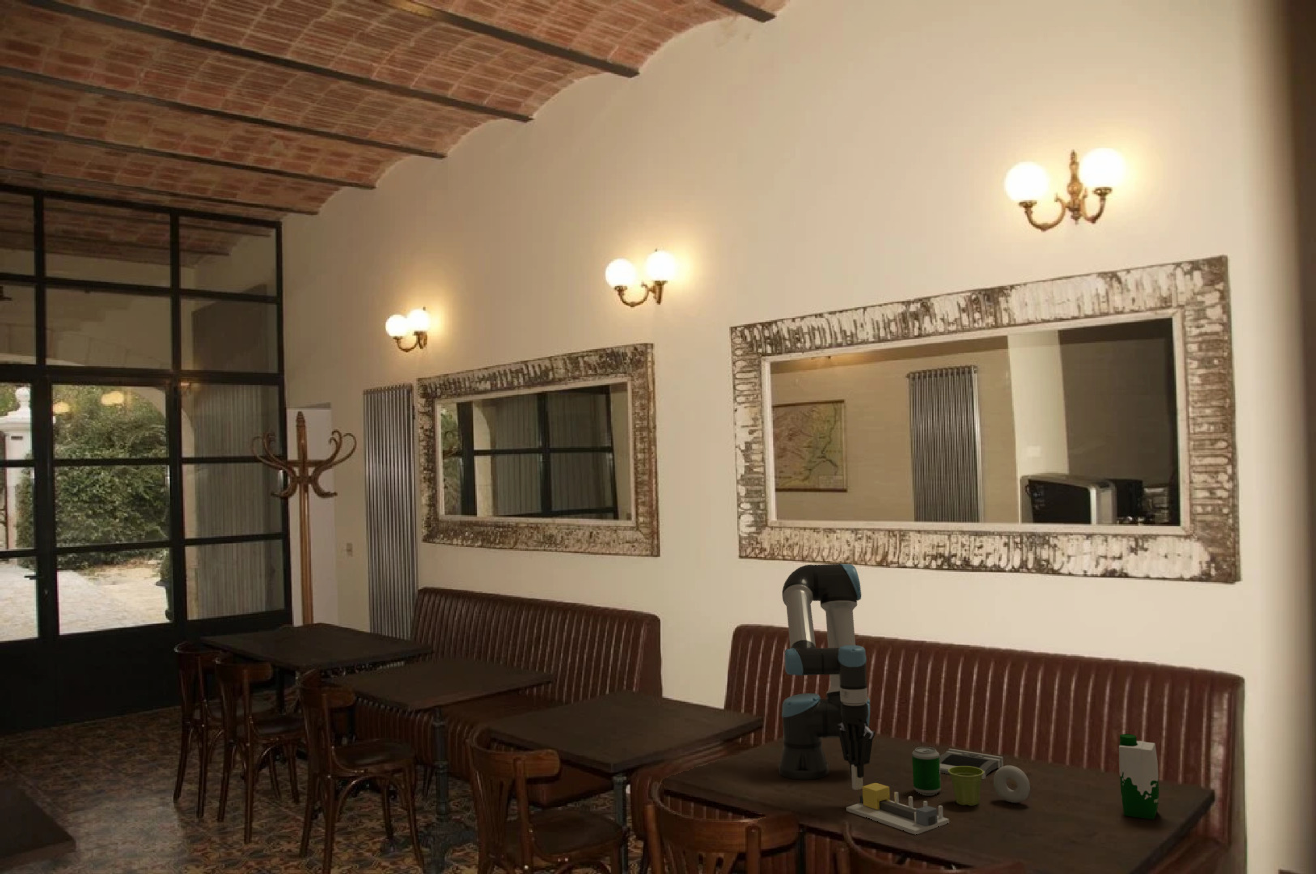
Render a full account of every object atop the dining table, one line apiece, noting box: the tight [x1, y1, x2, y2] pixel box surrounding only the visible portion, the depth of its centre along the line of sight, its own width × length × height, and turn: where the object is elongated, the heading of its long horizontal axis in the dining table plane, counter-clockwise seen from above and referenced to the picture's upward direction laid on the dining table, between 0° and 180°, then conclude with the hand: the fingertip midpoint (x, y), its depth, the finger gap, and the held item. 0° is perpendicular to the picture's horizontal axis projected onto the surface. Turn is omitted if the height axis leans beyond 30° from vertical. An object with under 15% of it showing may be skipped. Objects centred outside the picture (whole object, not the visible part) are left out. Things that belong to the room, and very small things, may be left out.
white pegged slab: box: [845, 791, 950, 836], centre depth 270 cm, size 24×13×5 cm, turn 35°
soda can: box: [911, 746, 942, 796], centre depth 290 cm, size 8×8×12 cm
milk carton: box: [1118, 733, 1160, 820], centre depth 266 cm, size 9×9×20 cm
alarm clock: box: [939, 748, 1004, 780], centre depth 310 cm, size 17×5×16 cm
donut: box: [992, 765, 1031, 804], centre depth 278 cm, size 10×3×10 cm, turn 49°
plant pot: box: [948, 766, 984, 807], centre depth 280 cm, size 9×9×9 cm
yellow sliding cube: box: [862, 782, 891, 810], centre depth 276 cm, size 5×5×5 cm
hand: (857, 788), depth 281 cm, fingers closed
